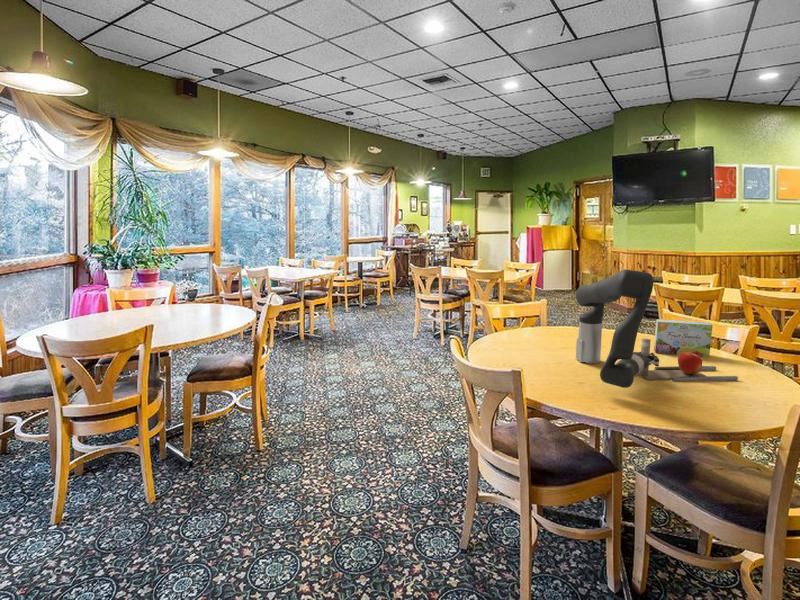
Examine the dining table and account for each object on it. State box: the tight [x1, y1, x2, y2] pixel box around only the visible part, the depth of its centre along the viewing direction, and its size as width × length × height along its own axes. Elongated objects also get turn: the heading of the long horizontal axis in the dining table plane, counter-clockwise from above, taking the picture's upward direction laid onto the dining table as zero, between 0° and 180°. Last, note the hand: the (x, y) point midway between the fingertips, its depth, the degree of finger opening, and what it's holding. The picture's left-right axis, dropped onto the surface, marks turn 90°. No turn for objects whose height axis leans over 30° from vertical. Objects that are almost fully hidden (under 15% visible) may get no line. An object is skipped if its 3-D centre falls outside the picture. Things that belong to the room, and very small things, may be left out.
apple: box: [677, 349, 703, 374], centre depth 182 cm, size 8×8×10 cm
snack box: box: [653, 318, 713, 358], centre depth 211 cm, size 21×6×15 cm, turn 68°
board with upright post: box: [637, 338, 707, 381], centre depth 182 cm, size 24×10×15 cm, turn 89°
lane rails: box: [653, 365, 739, 382], centre depth 183 cm, size 24×14×2 cm, turn 89°
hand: (647, 354), depth 184 cm, fingers closed on board with upright post, 3 cm apart
